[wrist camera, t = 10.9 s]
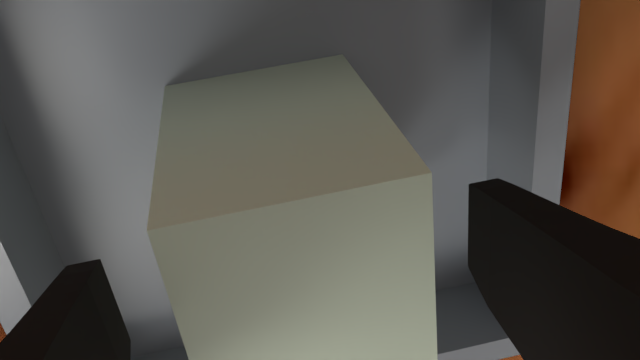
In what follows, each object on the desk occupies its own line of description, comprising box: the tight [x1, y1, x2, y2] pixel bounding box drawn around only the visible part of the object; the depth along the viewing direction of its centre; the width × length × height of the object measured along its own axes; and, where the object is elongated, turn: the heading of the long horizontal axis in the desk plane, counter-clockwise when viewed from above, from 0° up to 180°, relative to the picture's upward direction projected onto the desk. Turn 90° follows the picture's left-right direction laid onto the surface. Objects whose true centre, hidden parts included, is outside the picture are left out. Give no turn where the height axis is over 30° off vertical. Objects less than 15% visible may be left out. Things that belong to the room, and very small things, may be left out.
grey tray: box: [0, 0, 581, 360], centre depth 15 cm, size 14×14×3 cm
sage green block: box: [147, 54, 438, 360], centre depth 13 cm, size 4×4×6 cm
